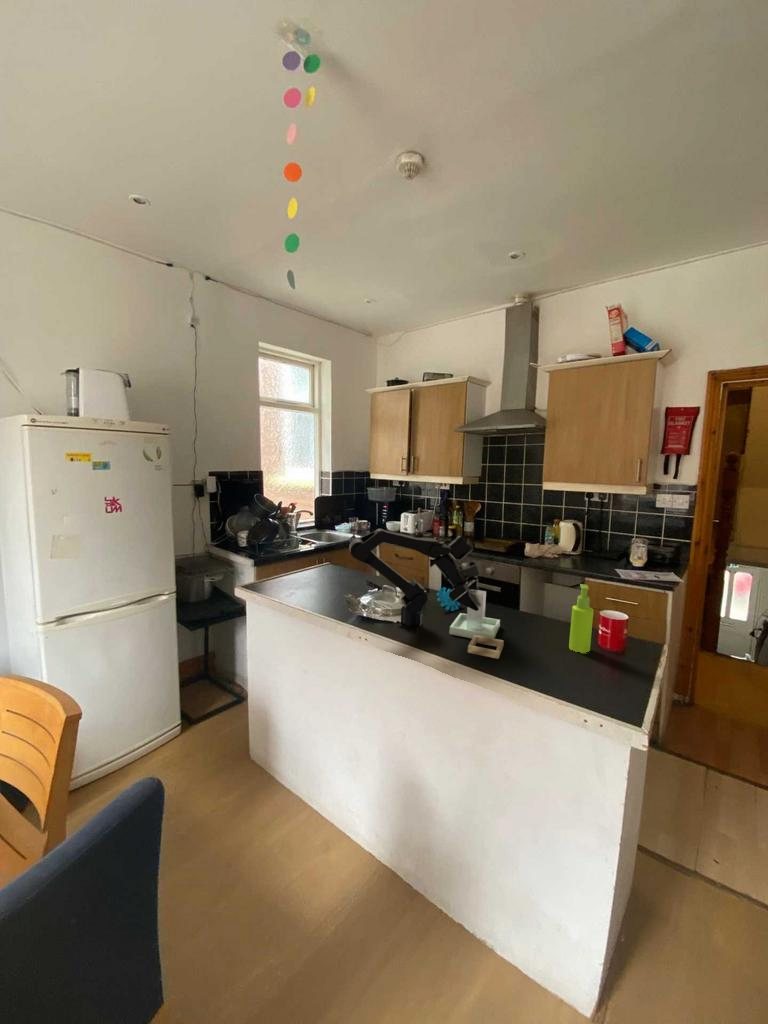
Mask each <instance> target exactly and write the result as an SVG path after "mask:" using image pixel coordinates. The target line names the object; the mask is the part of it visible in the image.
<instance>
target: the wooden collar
mask: <svg viewBox="0 0 768 1024" xmlns="http://www.w3.org/2000/svg"><path fill="white" fill-rule="evenodd" d="M477 644H482V645H487V646H492V647H496V650H495V649H491V648H485V647H481V646H476V645H477ZM503 648H504V640H503V639H497V638H494V639H493V638H488V637H483V636H477V635H474V637H473V638H471V640H470V642H469V644H468V646H467V653H468V654H473V655H477V656H483V657H487V658H492V659H497V660H498V659H499V658H500V656H501V653H502V651H503Z"/></svg>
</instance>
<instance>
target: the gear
mask: <svg viewBox="0 0 768 1024" xmlns="http://www.w3.org/2000/svg"><path fill="white" fill-rule="evenodd" d="M446 590H447V591H446ZM451 591H452V588H449V587H448V589H447V587H442V588H439V589H438V592H437V593H436V596H437V597H438V598H437V601H438V602H441V603H440V604H439V605H440V607H442V608H444V607H445V606H446V607H445V608H444V609H445V610H446V611H449V610H450V612H452V611H453V612H455V611H456V610H459V606H460V605H461V604H460V603H458V602H455V600H456V599H455V600H454V601H452V600H451V599H450V598H449V593H450V592H451Z"/></svg>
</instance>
